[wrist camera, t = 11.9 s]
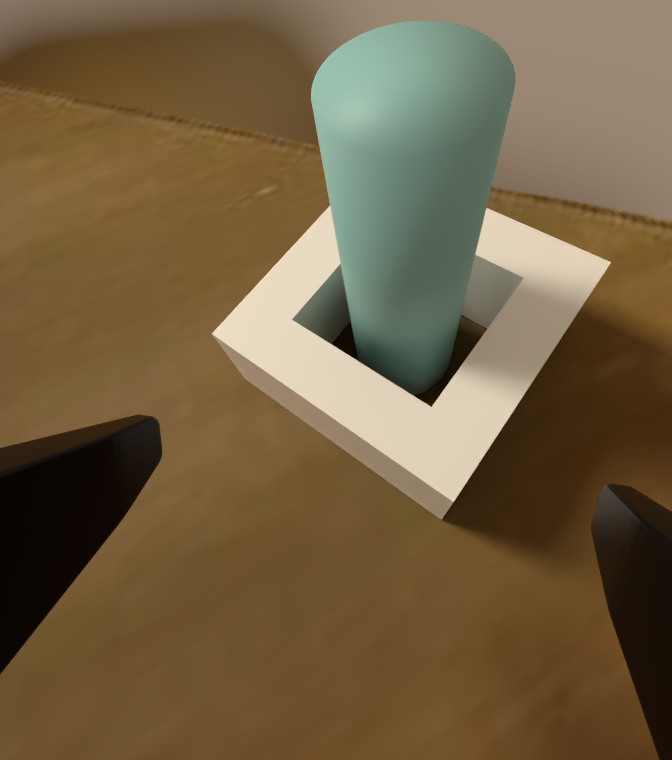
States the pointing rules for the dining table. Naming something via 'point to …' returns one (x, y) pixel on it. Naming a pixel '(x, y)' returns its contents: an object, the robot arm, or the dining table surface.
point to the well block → (382, 397)
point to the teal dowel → (410, 183)
